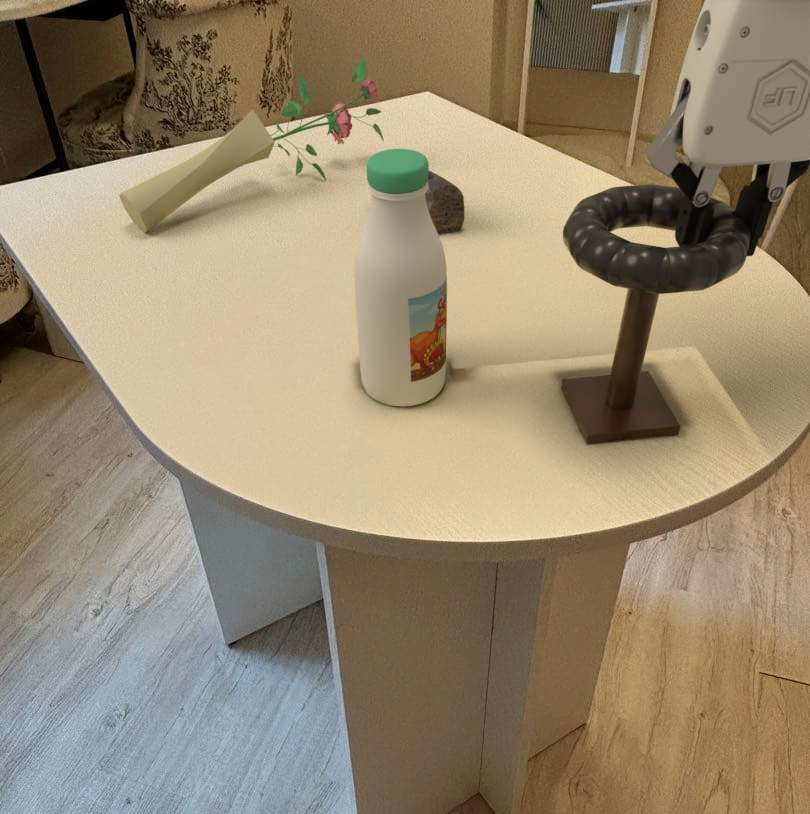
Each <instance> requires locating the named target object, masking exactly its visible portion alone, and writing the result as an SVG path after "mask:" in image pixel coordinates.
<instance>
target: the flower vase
mask: <svg viewBox="0 0 810 814" xmlns="http://www.w3.org/2000/svg"><path fill="white" fill-rule="evenodd" d="M348 66H349V69H350V73H351V76H352V79H351V82H350V87H351V89H352V91H353V92H352V93H353V94H352V100H351V101H349V102H348V103H346V104H345V103H342V102H341V101H340V100H338V102H337V101H335V102H334V106H333V107H331V112H329V113H323V114H324V115H322V116H320V117H317V118H315V119H313V120H311V121H309V122H307V123H304V124H302V122H303V118H304V115H302V114H305V113H304V112H305V107H306V105H307V104H310V102H311V96H310V94H309V89H308V85H307V82H306V80H305V78H304V77H303V75H302V74H301V73H300V72H298V88H299V96H301V100H300V104H299V103H297V102H295V101H291V100H287V105H286V106H285V107H284V108H283V110H282V111H281V113H280V116H283V117H287V118H289V120H288V123H287V125H289V124H290V121H291V120H292V118H294V117H297V118H298V117H299V116H300V124H299V126H298V127H295V128H294V129H292V130H289V126H287V127H286V128H287V130H286V131H287V132H286V133H285V131H284V130H283V129H282V128H281V126H280V125H279V122H276V123H275V124H276V129H277V130H276V131H275V132H273V133H272V134H270V132H269V131H268V130H267V128H266V127H265V125H264V123H263V122H262V120H260V118H259V117H258V115H257V114H256V112H255V110H254V109H253V108H252V109H251V110H250V111H249V112H248V113H247V114H246V115H245V116H244V117H243V118H242V119H241V120H240V121H239V123H238V124H236V125H235V126H234V127H233V129H231V130H230V131H228V132H227V133H226V134H225V135H224V136H223V137H221V138H219V139H218V140H217V141H215V142H214V143H212V144H211V145H209V146H208V147H206V148H205V149H203V150H201V151H200V152H199V153H197V154H195V155H193V156H192V157H190V158H188V159H187V160H185V161H182V163H179V164H177V165H176V166H173V167H172V168H170V169H167V170H165V171H163V172H160V173H159V174H157V175H155V176H153V177H150V178H148V179H147V180H145V181H142V182H140V183H139V184H137V185H135V186H132V187H130V188H127V190H124V191H122V192H120V194H119V199H120V202H121V205H122V206H123V208H124V210H125V211H126V213H127V215H128V216H129V218H130V220H131V221H132V222H133V223H134V224H135V226H136V227H137V228H138V229H139V230H140V231H141V232H143V233H144V234H146V233H147V232H148V231H150V230H151V229H152V228H154V227H156V226H157V225H158V224H159V223H160V222H162V221H163V220H164V219H166V217H168V216H169V215H171V214H172V213H174V212H175V211H176V210H178V208H180V207H181V206H183V205H184V204H185V203H186V202H188V201H190V199H192V198H193V197H194V196H196V195H197V194H198V193H200V192H201V191H203V190H204V189H206V188H207V187H208V186H209V185H211V184H213V183H215V182H216V181H218V180H220V179H221V178H223V177H225V176H227V175H229V174H230V173H231V172H233V171H235V170H237V169H239V168H240V167H243V166H246V165H248V164H252V163H255V162H260V161H262V160H266V159H269V158H270V155H271V153H272V150H273V148H274V147H275V148H276V147H277V148H280V149H282V150H284V151H285V154H287V156H288V157H291V153H290V152H289V151H288V149H286V148H285V147H284V146H283V145H282V144H281V143H278V142H277V145H275V143H276V141H279V140H281V139H283V140H285V141H286V142H288V143H289V144H291V145H292V146H293V147H294V148H295V150H297V159H296V164H295V176H297V175H299V174H301V172H302V171H303V168H304V162H303V161H302V160H301V158H300V157H299V154H300V156H302V158H303V159H304V161H306V163H308V164H309V165H310V166H312V168H313V169H315V170H317V172H318V173H319V174H320V176H321V177H322V178H323V179H324V181H327V178H326V175H325V173H324V171H323V169H322V168H321V166H320V165H319V164H318V163H316V162H314V163H313V162H312V163H310V162H309V161H308V160H307V159H306V158H305V156H303V154H302V153H301V151H300V150H302V151H306V152H307V153H308V154H309V155H311V156H314V157H317V156H318V153H317V152H316V150H315V148H314V147H313V146H312V145H311V144H309V143H306V146H305V149H304V148H301V147H299V148H298V147H297V146H295V145H294V144H293V143H292V142H291V141H289V140H288V139H287V138H286V137H290V136H292V135H294V134H297V133H301V132H304V131H307V130H311V129H314V128H318V127H323V126H328V130H327V133H326V136H328V135H330V134H331V136H332V137H333V138H334V139H333V140H334V142H337V145H341V144H342V145H344V143H345V141H344V140H346V139H347V138H349V137H350V136H351V130H352V129H353V123H352V118H354V119H355V120H357V121H359V122H361V123H364V124H365V125H367V126H369V127H372V128H373V130H374V131H375V132H376V133H377V134H378V136H379V137H380V138H381V140H382V142H385V139H384V136H383V133H382V131H381V128H380V127H379V125H378V124H377V123H374V124H373V125H371V124H368V123H366V122H364V121H362V120H360V118H364V117H365V116H368V117H369V116H374V115H378V114H381V113H382V112H383V111H382V110H380V109H378V108H376V107H375V108H374V107H369V108H366V111H365V114H364V115H362V116H353V115H352V114H351V113H350V112H349V110H348V108H347V107H348V106H350V105H352V104H353V103H355V102H356V101H358V100H360V99H361V98H363V103H365V102H366V101H368V102H370V104H371V105H373V104H376V100H375V99H377V101H378V100H379V97H380V95H379V91H378V85H377V83H376V82H375V81H373V79H372V78H370V77H368V76H366V74H367V66H366V62H365V58H362V59H361V60H360V62H359V64H357V67H356V71H355V73H354V68H353V66H352V64H351V63H350V62H348ZM355 81H356V84H355V86H354V88H353V84H354V83H355ZM358 83H362V84H361V86H360V88H358V90H359V92H360V95H359V96H357V97H356V98H355V97H354V96H355V92H356V91H355V90H356V87H357V85H358ZM303 103H304V105H303ZM303 106H304V107H303ZM301 112H302V114H301ZM325 118H326V119H327V122H320V123H316V122H318V121H321V120H322V119H325ZM279 131H280V132H281V133H283V134H280V135H278V136H275V137H273V136H274V135H275V134H276V133H278V132H279ZM343 139H344V140H343Z"/></svg>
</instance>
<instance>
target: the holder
mask: <svg viewBox="0 0 810 814" xmlns="http://www.w3.org/2000/svg"><path fill="white" fill-rule="evenodd" d="M659 297H660V294H655V293H649V292H644V291H638V290H633V289H627V291H626V295H625V301H624V305H623V311H622V316H621V320H620V325H619V331H618V335H617V339H616V345H615V350H614V356H613V359H612V366H611V369H610V370H611V371H610V374H601V375H594V376H593V375H591V376H590V375H589V376H582V377H570V378H562V379H561V380H562V381H561V386H560V389H561V391H562V394H563V395H564V398H565V401H566V402H567V404H568V407H569V409H570V411H571V413H572V416H573V418H574V420H575V422H576V424H577V427H578V429H579V431H580V434H581V436H582V438H583V440H584V442H585V444H586V445H594V444H603V443H609V442H610V443H611V442H621V441H631V440H641V439H651V438H660V437H669V436H678V435H679V434H680V430H681V424H680V422H679V420H678V419H677V417H676V415H675V413H674V412H673V410H672V409H671V407H670V405H669V403H668V402H667V400H666V398H665V397H664V395H663V393H662V391H661V390H660V388H659V387H658V385H657V383H656V381H655V379H654V378H653V376H652V375H651V373H650V372H649V370H643V364H644V361H645V357H646V352H647V348H648V344H649V340H650V335H651V331H652V327H653V323H654V318H655V314H656V309H657V306H658V302H659Z"/></svg>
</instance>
